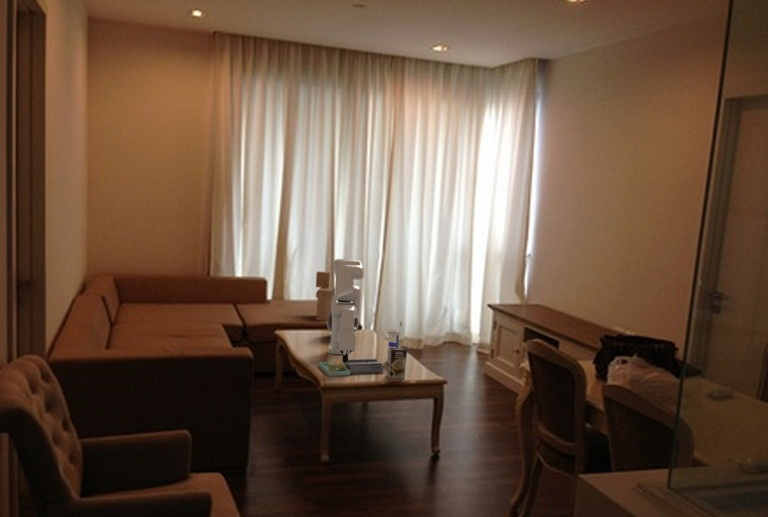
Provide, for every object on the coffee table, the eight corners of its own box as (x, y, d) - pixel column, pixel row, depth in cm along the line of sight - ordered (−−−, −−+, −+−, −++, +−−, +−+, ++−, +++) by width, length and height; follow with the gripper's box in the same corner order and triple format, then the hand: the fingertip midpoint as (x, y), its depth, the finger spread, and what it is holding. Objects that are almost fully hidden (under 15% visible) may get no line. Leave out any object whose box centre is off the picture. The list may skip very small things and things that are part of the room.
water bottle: (390, 359, 415) (393, 319, 413) (401, 362, 410) (404, 321, 407) (382, 361, 409) (385, 320, 406) (393, 364, 404) (396, 323, 401)
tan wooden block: (338, 359, 383) (343, 363, 384) (334, 365, 383) (340, 369, 384) (340, 361, 379) (346, 365, 381) (336, 367, 379) (342, 371, 380)
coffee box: (389, 378, 374) (391, 350, 372) (386, 375, 380) (388, 347, 378) (405, 378, 376) (407, 350, 375) (401, 375, 382) (403, 347, 381)
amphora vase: (356, 342, 454) (359, 301, 451) (324, 340, 454) (327, 299, 451) (358, 335, 475) (361, 296, 472) (327, 333, 475) (330, 294, 472)
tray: (318, 366, 388) (318, 362, 388) (338, 365, 393) (339, 361, 393) (328, 376, 370) (329, 371, 370) (349, 375, 374) (350, 371, 374)
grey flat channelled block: (341, 367, 390) (342, 358, 390) (374, 365, 398) (375, 357, 397) (349, 373, 377) (350, 365, 377) (383, 372, 385) (383, 364, 384)
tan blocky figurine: (315, 315, 538) (318, 271, 534) (333, 316, 537) (335, 272, 533) (310, 319, 519) (313, 274, 516) (329, 321, 518) (332, 275, 514)
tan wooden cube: (334, 362, 383) (334, 369, 383) (327, 362, 381) (327, 369, 382) (336, 364, 379) (336, 371, 379) (329, 364, 377) (329, 371, 378)
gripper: (357, 328, 387) (355, 359, 389) (332, 328, 382) (330, 360, 384) (361, 331, 381) (359, 363, 382) (336, 331, 375) (334, 363, 377)
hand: (345, 361), depth 383 cm, fingers closed
